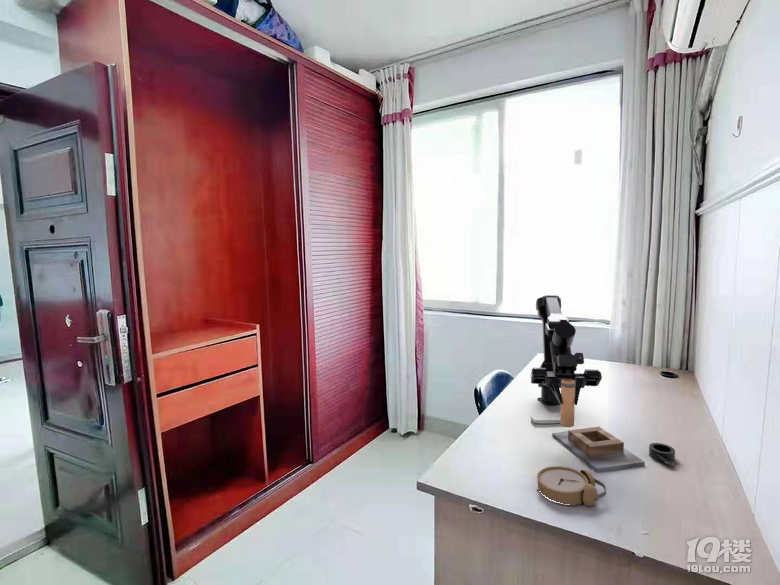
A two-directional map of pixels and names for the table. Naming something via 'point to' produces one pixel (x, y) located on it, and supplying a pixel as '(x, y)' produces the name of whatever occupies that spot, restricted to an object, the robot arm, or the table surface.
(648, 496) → the table surface
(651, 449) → the black hollow winged cylinder
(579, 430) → the block
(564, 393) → the terracotta pin
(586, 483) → the alarm clock
